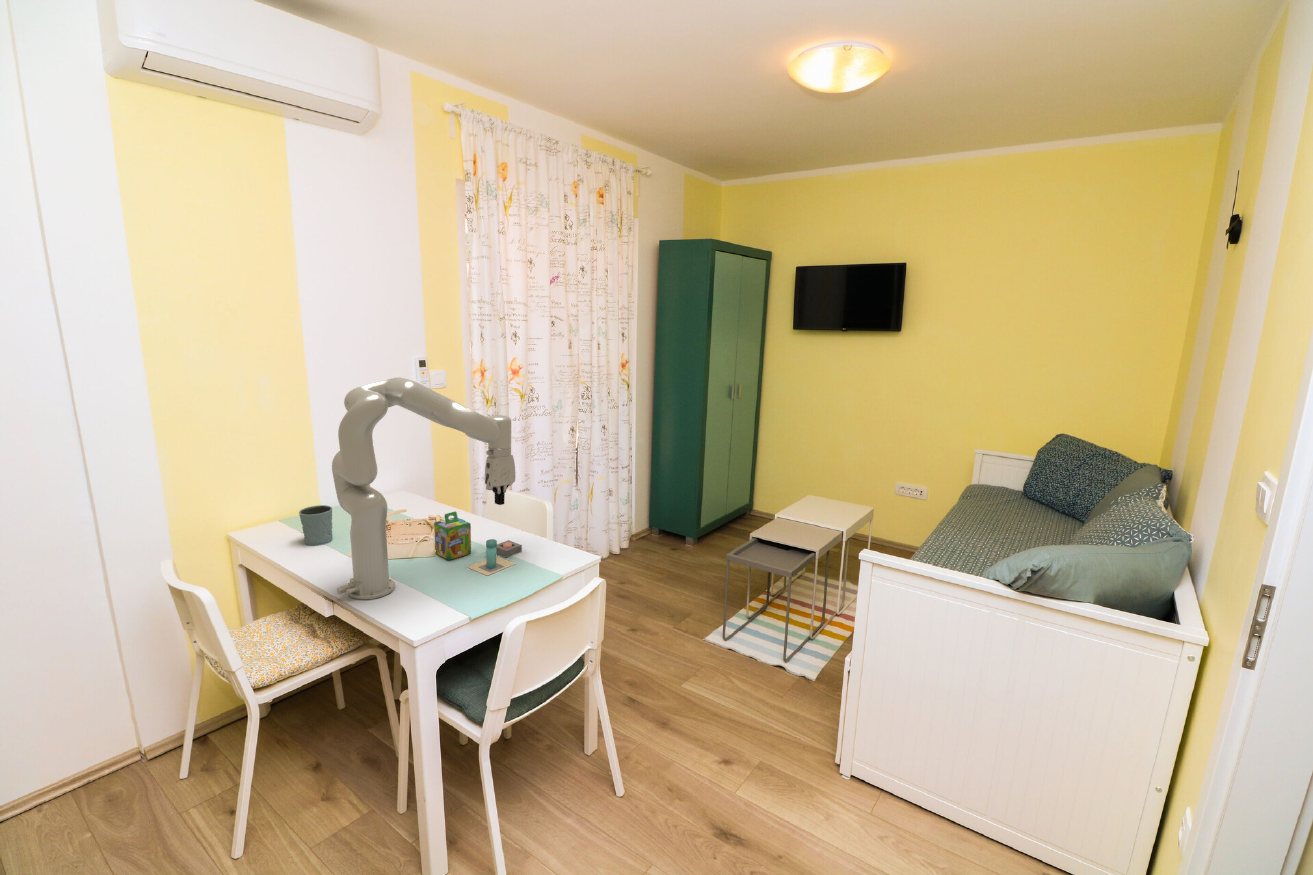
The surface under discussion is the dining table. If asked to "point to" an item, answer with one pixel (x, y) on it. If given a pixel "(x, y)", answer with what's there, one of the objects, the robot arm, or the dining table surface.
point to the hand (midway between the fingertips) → (499, 503)
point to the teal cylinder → (491, 553)
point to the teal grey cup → (317, 524)
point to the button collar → (508, 549)
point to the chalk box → (452, 537)
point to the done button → (507, 545)
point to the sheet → (500, 565)
